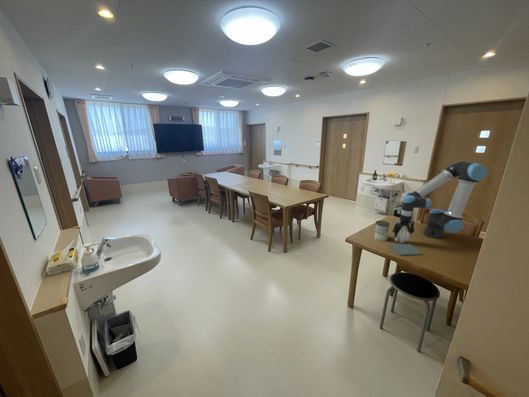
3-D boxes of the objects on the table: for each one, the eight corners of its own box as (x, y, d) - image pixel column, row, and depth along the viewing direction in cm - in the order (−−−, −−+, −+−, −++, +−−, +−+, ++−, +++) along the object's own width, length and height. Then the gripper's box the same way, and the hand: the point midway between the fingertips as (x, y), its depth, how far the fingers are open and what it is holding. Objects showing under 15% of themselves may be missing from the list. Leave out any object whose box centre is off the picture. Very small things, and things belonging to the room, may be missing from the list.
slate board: (409, 245, 170) (409, 243, 169) (422, 254, 156) (422, 253, 156) (388, 246, 169) (388, 244, 169) (399, 255, 156) (399, 254, 156)
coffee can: (372, 234, 189) (374, 220, 185) (385, 235, 186) (387, 221, 182) (375, 240, 179) (377, 224, 175) (388, 241, 177) (391, 225, 173)
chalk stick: (402, 240, 177) (404, 227, 174) (405, 242, 173) (407, 229, 170) (397, 240, 177) (399, 227, 174) (400, 243, 173) (402, 229, 170)
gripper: (416, 212, 172) (411, 237, 179) (389, 213, 172) (386, 238, 178) (423, 215, 165) (417, 241, 172) (395, 217, 165) (391, 242, 171)
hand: (401, 240), depth 175 cm, fingers open, 9 cm apart
